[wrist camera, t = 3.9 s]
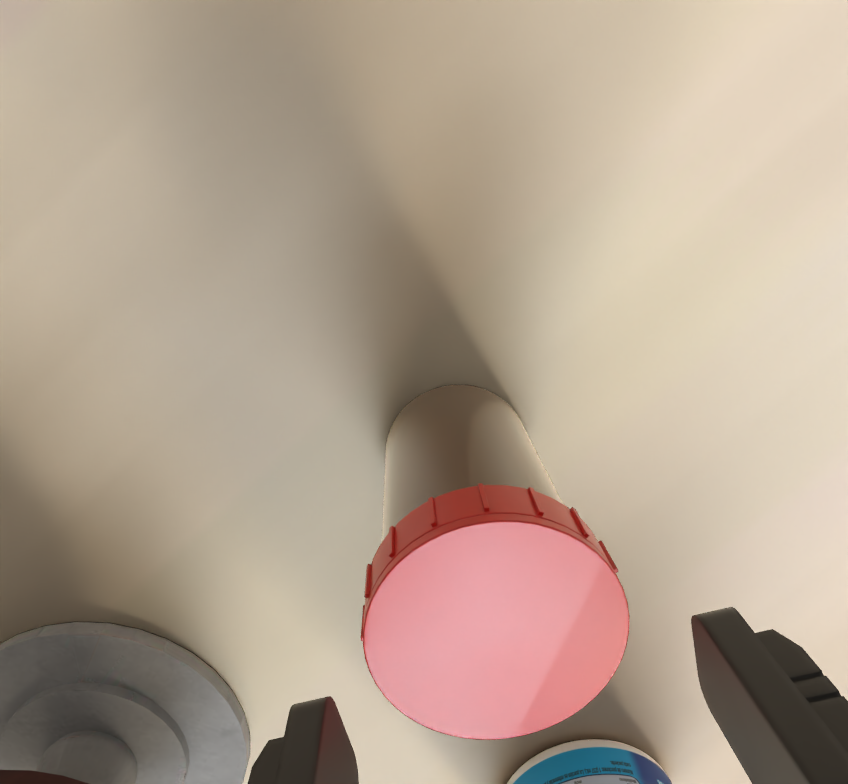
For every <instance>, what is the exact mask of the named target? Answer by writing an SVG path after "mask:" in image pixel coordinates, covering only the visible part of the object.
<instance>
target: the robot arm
mask: <svg viewBox="0 0 848 784" xmlns="http://www.w3.org/2000/svg"><path fill="white" fill-rule="evenodd" d="M691 624H692V632H693V640H694V647H695V655H696V663H697V670H698V677H699V682H700V686H701V689H702V692H703V695H704V698H705V700H706V703H707V705H708V707H709V709H710V711H711V713H712V715H713V717H714V718H715V720H716V722H717V723H718V725H719V727H720V729H721V730H722V732H723V734H724V735H725V737H726V739H727V741H728V742H729V744H730V746H731V748H732V749H733V751H734V753H735V754H736V756H737V758H738V760H739V761H740V763H741V765H742V767H743V768H744V770H745V772H746V773H747V775H748V777H749V779H750V780H751V782H752V784H848V701H847V700H846V699H845V698H844V696H841V695H840V693H839V691H838V689H837V688H836V687H835V686H834V685H833V684H832V682H831V681H830V680H829V679H828V678H827V676H824V675H823V673H822V671H821V669H820V668H819V667H818V666H817V665H816V664H815V662H814V661H813V660H812V659H811V658H810V657H809V655H808V654H807V653H806V652H805V651H804V650H803V648H802V647H800V646H799V645H797V644H796V643H794V642H792V641H791V640H789V639H788V638H786V637H784V636H783V635H781V634H779V633H778V632H776V631H775V630H773V629H772V630H767V631H763V632H758V633H754V631H753V630H752V629H751V628H750V626H749V625H748V624H747V622H746V621H745V620H744V619H743V617H742V616H741V615H740V613H739V612H738V611H737V610H736V609H735V608H733V607H729V608H725V609H720V610H716V611H711V612H707V613H702V614H698V615H694V616H692V619H691ZM248 784H359V781H358V769H357V763H356V758H355V754H354V751H353V748H352V746H351V743H350V740H349V738H348V735H347V733H346V730H345V727H344V725H343V722H342V720H341V717H340V715H339V712H338V709H337V707H336V704H335V702H334V700H333V699H332V697H325V698H320V699H316V700H311V701H307V702H303V703H298V704H294V705H292V707H291V709H290V712H289V716H288V721H287V725H286V730H285V735H284V737H282V738H277V739H273V740H269V741H268V742H267V744H266V746H265V747H264V749H263V750H262V752H261V754H260V755H259V757H258V758H257V760H256V762H255V763H254V765H253V767H252V770H251V773H250V777H249V781H248Z"/></svg>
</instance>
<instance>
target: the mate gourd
mask: <svg viewBox="0 0 848 784" xmlns="http://www.w3.org/2000/svg"><path fill="white" fill-rule="evenodd" d="M249 756H250V732H249V729H248V725H247V721H246V718H245V714H244V711H243V709H242V707H241V706H240V704H239V702H238V700H237V698H236V697H235V695H234V693H233V691H232V690H231V689H230V687H229V686H228V685H227V684H226V683H225V682H224V680H223V679H222V678H221V677H220V676H219V675H218V674H217V672H216V671H215V670H213V669H212V668H211V667H210V666H208V665H207V664H206V663H205V662H203V661H202V660H201V659H200V658H198V657H197V656H196V655H195V654H193V653H191V652H190V651H188V650H186V649H184V648H182V647H180V646H179V645H177V644H175V643H173V642H171V641H169V640H168V639H165V638H162V637H159V636H157V635H154V634H151V633H148V632H145V631H143V630H140V629H136V628H131V627H125V626H120V625H115V624H110V623H91V622H72V623H64V624H56V625H48V626H44V627H40V628H37V629H34V630H31V631H27V632H24V633H21V634H18V635H16V636H14V637H12V638H11V639H9V640H7V641H5V642H3V643H1V644H0V784H243V780H244V776H245V772H246V768H247V764H248V760H249Z"/></svg>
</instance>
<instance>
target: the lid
mask: <svg viewBox="0 0 848 784" xmlns="http://www.w3.org/2000/svg"><path fill="white" fill-rule="evenodd" d="M428 500H429V501H427V502H425V503H424V504H422V505H421V506H419V507H417V508H416V509H414V510H413V511H411V512H410V513H409V514H408V515H406V516H405V517H404V518H403V519H402V520H401V521H399V522H398V523H397V524H396V526H395V527H394V526H391V527H390V528H389V533H388V535H387V536H386V537H385V539H384V540H383V542H382V543H381V545H380V546H379V548H378V550H377V552H376V554H375V556H374V558H373V561H372V564H371V565H370V564H368V565H367V571H366V584H365V605H364V606H363V617H362V629H361V641H363V647H364V654H365V659H366V662H367V665H368V668H369V671H370V673H371V675H372V677H373V679H374V681H375V683H376V685H377V686H378V688H379V689H380V691H381V692H382V693H383V695H384V696H385V697H386V698H387V699H388V700H389V701H390V702H391V704H392V705H393V706H394V707H396V708H397V709H398V710H399V711H401V712H402V713H403V714H404V715H406V716H407V717H409V718H410V719H412V720H414V721H415V722H417V723H419V724H421V725H423V726H425V727H427V728H429V729H432V730H434V731H437V732H440V733H444V734H447V735H451V736H456V737H461V738H468V739H478V740H496V739H505V738H513V737H518V736H523V735H528V734H531V733H534V732H537V731H541V730H544V729H546V728H548V727H551V726H553V725H555V724H558V723H560V722H561V721H563V720H565V719H567V718H569V717H570V716H572V715H574V714H575V713H576V712H578V711H579V710H581V709H582V708H583V707H585V706H586V705H587V704H588V703H589V702H590V701H592V700H593V699H594V698H595V697H596V696H597V695H598V694H599V693H600V692H601V691H602V689H603V688H604V687H605V686H606V685H607V684H608V682H609V681H610V679H611V678H612V676H613V675H614V673H615V672H616V670H617V668H618V666H619V664H620V662H621V660H622V657H623V654H624V651H625V648H626V645H627V640H628V634H629V610H628V603H627V599H626V596H625V593H624V590H623V587H622V585H621V583H620V581H619V579H618V577H617V575H616V573H617V572H618V569H617V567H616V566H615V564H614V562H613V560H612V558H611V557H610V555H609V553H608V551H607V550H606V548H605V546H604V544H603V543H602V541H599V542H598V541H597V539H596V537H595V536H594V534H593V533H592V531H591V530H590V528H589V527H588V526H587V524H586V523H585V522H584V521H583V520H582V519H581V518H580V517H579V515H578V513H577V511H576V509H574V508H573V507H572V508H571V509H569V508H568V507H567V506H565V505H564V504H562V503H560V502H558V501H557V500H555V499H553V498H551V497H549V496H546V495H544V494H541V493H539V492H536V491H534V489H533V488H531V487H529V488H528V489H525V488H521V487H514V486H507V485H483V484H482V483H480V484H478V486H472V487H467V488H463V489H458V490H454V491H451V492H448V493H446V494H443V495H440V496H438V497H436V498H433V497H430V498H429V499H428Z"/></svg>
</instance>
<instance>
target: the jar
mask: <svg viewBox="0 0 848 784" xmlns="http://www.w3.org/2000/svg"><path fill="white" fill-rule="evenodd" d="M480 483H482V484H483V485H507V486H514V487H521V488H525V489H528V488H529V487H531V488H533V489H534V491H536V492H539V493H541V494H544V495H546V496H549V497H551V498H553V499H555V500H557V501H558V502H560V503H562V504H563V502H562V500H561V498H560V497H559V495H558V493H557V491H556V489H555V487H554V485H553V483H552V481H551V479H550V477H549V475H548V473H547V471H546V469H545V467H544V465H543V463H542V461H541V459H540V457H539V456H538V454H537V452H536V450H535V448H534V446H533V444H532V442H531V440H530V438H529V436H528V434H527V432H526V430H525V428H524V426H523V424H522V422H521V420H520V418H519V416H518V415H517V414H516V412H515V411H514V409H513V408H512V407H511V406H510V405H509V404H508V403H507V402H506V401H504V400H503V399H502V398H501V397H499V396H497V395H496V394H494V393H492V392H490V391H488V390H485V389H483V388H479V387H476V386H470V385H448V386H443V387H438V388H435V389H432V390H429V391H427V392H425V393H423V394H421V395H419V396H418V397H416V398H415V399H413V400H412V401H411V402H410V403H409V404H407V405H406V406H405V407H404V408H403V409H402V411H401V412H400V413H399V414H398V416H397V417H396V419H395V420H394V422H393V424H392V426H391V428H390V431H389V434H388V437H387V443H386V455H385V478H384V501H383V524H382V542H383V540H384V539H385V537H386V536H387V535H388V533H389V528H390V527H391V526H394V527H395V526H396V524H397V523H398V522H399V521H401V520H402V519H403V518H404V517H405V516H406V515H408V514H409V513H410V512H411V511H413V510H414V509H416V508H417V507H419V506H421V505H422V504H424V503H425V502H427V501H429V500H428V499H429V498H430V497H433V498H436V497H438V496H440V495H443V494H446V493H448V492H451V491H454V490H458V489H463V488H467V487H472V486H478V484H480Z"/></svg>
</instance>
